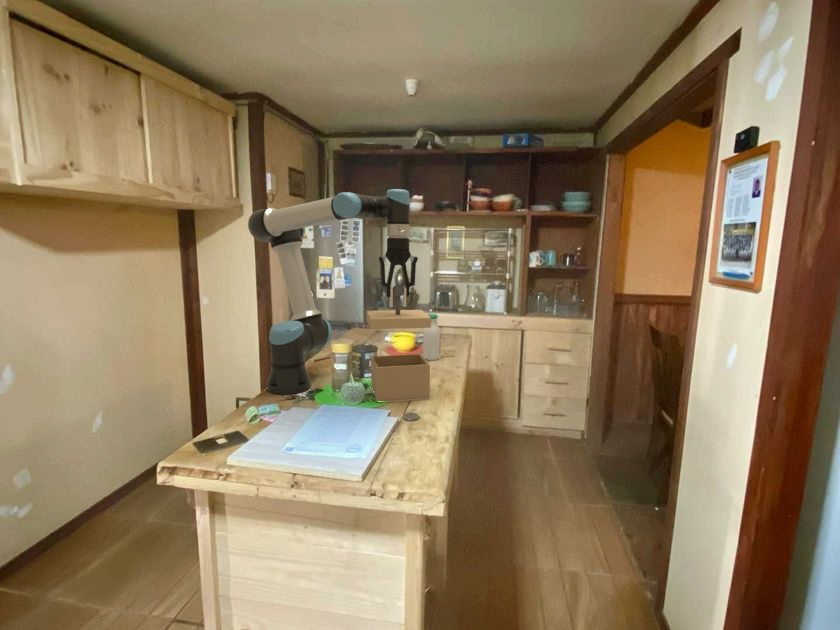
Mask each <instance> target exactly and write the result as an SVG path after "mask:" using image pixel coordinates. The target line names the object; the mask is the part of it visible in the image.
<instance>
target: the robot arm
mask: <svg viewBox="0 0 840 630" xmlns="http://www.w3.org/2000/svg"><path fill="white" fill-rule="evenodd" d="M410 201H411V199H410V192H409V190H407V189H402V188H401V189H400V188H399V189H398V188H393V189H392V188H391V189H387V191H386V195H384V196H370V195H366V194H359V193H353V192H350V191H347V192H339V193H338V194H337V195H335V196H331V197H327V198H322V199H318V200H314V201H310V202H306V203H300V204H296V205H292V206H287V207H282V208H279V209H277V208H275V207H269V208H264V209H263V208H262V209H257V210H255V211H254V212H253V213H251V215H250V216H249V218H248V221H247V227H248V231H249V233H250V234H251V236H252V237H253V238H254V239H256V240H257V241H259V242H263V243H269V244H270V248H271V250H272V251H273V252H275V253H276V254H277V258H278V261H279V266H280V269H281V272H282V276H283V277H282V278H283V281H284V285H285V287H286V290H287V291H286V292H287V295H288V298H289V302H290V307H291V310H292V313H293V315H292V317H291V319H290V320H286V321H281V322H278V323H276V324H273V325H272V326H271V327H270V328H269V337H268V340H269V354H270V371H269V375H268V379H267V381H266V390H267V391H268V393H271V394H274V395H292V394H299V393H304V392H306V391H307V390H309V389H310V388H311V386H312V385H311V383H312V381H311V378H310V377H311V376H310V375H309V373H308V369H307V367H306V360H305V355H306V354H307V355H308V354H309V353H312V352H314V351H317V350H321V349H322V348H324V347H325V346H327V345H328V344H329V342H330V341H331V339H332V335H333V334H332V333H333V331H332V329H333V328H332V326H331V324H330V322H329V321H328V320H327V319H326V318H323V315H322V312H321V310H320V311H319V310H318V309H317V308H316V305H315V300H314V297H313V292H312V288H311V286H310V281H309V278H308V273H307V269H306V266H305V265H306V264H305V261H304V259H303V254H302V251H301V247H302V245H303V243H304V242H303V237H304V236H305V235H304V234H305V231H306V228H309V227H314V226H318V225H323V224H328V223H329V224H330V223H333V222H337V221H345V220H350V219H358V220H366V221H368V220H386V236H387V239H386V252H385V254H384V255H379V256H378V257H377V259H378V261H379V264H380V266H379V267H380V269H379V270H380V285H381V286H382V287H385V288H386V289H385V290H386V294H385V295H386V297H387V298H389V307H390V308H393V307H394V306H393V304H394V300H393V299H394V295H393V287H392V282H393V276H394V271H395V268H396V266H400V267H401V271H402V276H403V277H402V278H403V282H404V286H402V287H403V289H404V293H403V294H402V306H403V307H405V308H406V307H407V298H408V297H410V288H411V287H413V286H415V285H416V269H417V262H418V260H419V258H418V256H414V255H412V254H411V252H410V239H409V237H410V209H411V207H410V206H411V202H410ZM386 259H387V260H388V263H390V264H389V268H388V269H389V270H388V273H387V275H388V276H387V280H386V268H385V266H386V265H385V262H386ZM409 260H410V262H411V264H410V279H409V275H408V271H407V262H408V261H409Z"/></svg>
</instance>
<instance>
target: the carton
mask: <svg viewBox="0 0 840 630" xmlns="http://www.w3.org/2000/svg"><path fill="white" fill-rule="evenodd" d="M370 359H371V361H370V362H371V365H370V366H371V389H372V388H373V391H374V394H375V397H374V399H375V398H376V400H375V402H376V401H385V402H384V403H394V402H396V403H397V402H407V401H409V402H410V401H420V400H422V401H423V400H430V395H431V394H430V392H431V391H430V388H431V387H430V383H431V382H430V381H431V379H430V378H431V375H430V374H431V365H430V363H429V362H428V360H426V359H425V358H424V357H423V354H422V353H416V354H415V353H413V354H391V355H375V356H374V355H373V356H371V357H370ZM373 391H372V392H373ZM374 394H373V395H374Z"/></svg>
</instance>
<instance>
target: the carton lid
mask: <svg viewBox="0 0 840 630" xmlns="http://www.w3.org/2000/svg"><path fill="white" fill-rule="evenodd" d="M403 287H404V286H402V285H400V284H396V285H394V286H393V287H392V288H393V296H394V297H395V310H392V309H391V310H367V311H366V321H367V324H368V327H369V328H370V330H393V329H396V330H397V329H399V330H401V329H425V328H431V317H429V316H428V314H427V313H426V312H425V311H423V310H422V309H401V296H403V293H404V289H403Z"/></svg>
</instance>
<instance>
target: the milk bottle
mask: <svg viewBox="0 0 840 630" xmlns="http://www.w3.org/2000/svg"><path fill="white" fill-rule="evenodd" d="M427 315H428V316H429V317H431V328H423V335H422V336H423V337H422V338H423V340H422V356H423V357H424V358H425V360H426V359H427V360H426V361H437V359H438V360H440V358H441V329H440V326H439V325H438V321H437V320H438V314H436V313H429V314H427Z"/></svg>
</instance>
